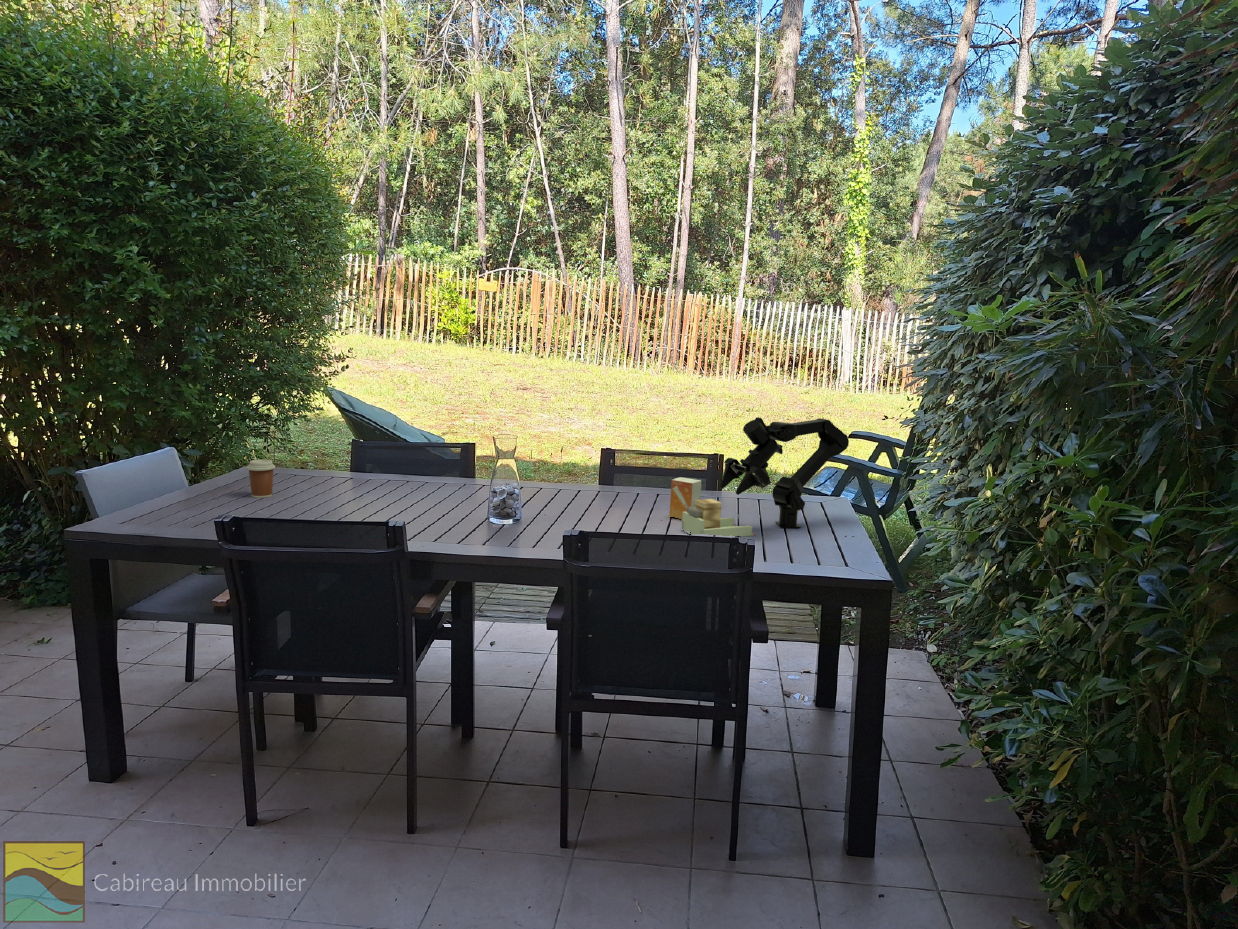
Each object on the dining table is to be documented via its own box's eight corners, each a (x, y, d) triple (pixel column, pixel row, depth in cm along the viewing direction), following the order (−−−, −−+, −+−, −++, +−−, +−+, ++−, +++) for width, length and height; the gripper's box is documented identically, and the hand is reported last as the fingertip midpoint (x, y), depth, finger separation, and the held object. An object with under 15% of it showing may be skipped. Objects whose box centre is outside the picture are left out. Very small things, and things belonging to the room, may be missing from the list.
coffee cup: (269, 499, 297) (268, 464, 295) (242, 498, 297) (241, 463, 295) (280, 493, 306) (279, 459, 304) (254, 492, 306) (253, 458, 304)
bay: (733, 526, 283) (735, 500, 281) (753, 535, 272) (755, 508, 271) (680, 530, 275) (681, 504, 273) (698, 540, 264) (699, 512, 263)
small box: (669, 518, 291) (670, 479, 288) (678, 514, 296) (680, 476, 294) (690, 522, 286) (692, 482, 284) (699, 518, 292) (702, 480, 289)
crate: (710, 528, 276) (712, 498, 274) (719, 532, 271) (721, 502, 269) (693, 529, 273) (695, 499, 272) (702, 534, 268) (704, 503, 267)
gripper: (792, 477, 270) (759, 514, 267) (759, 466, 287) (727, 501, 284) (772, 452, 265) (739, 490, 263) (740, 443, 282) (707, 478, 280)
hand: (728, 490), depth 273 cm, fingers open, 9 cm apart
